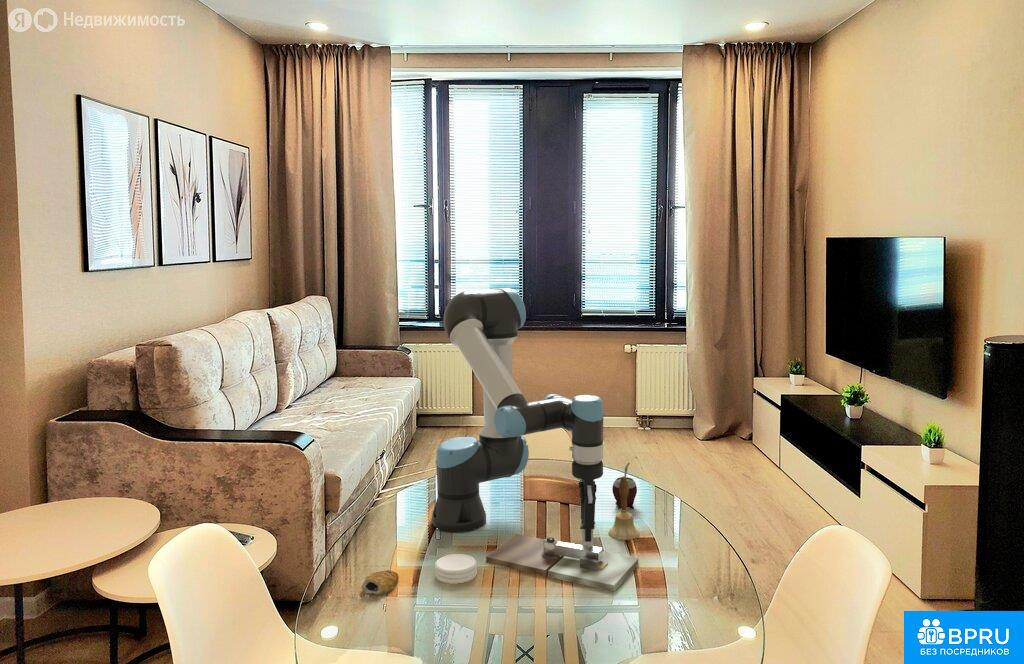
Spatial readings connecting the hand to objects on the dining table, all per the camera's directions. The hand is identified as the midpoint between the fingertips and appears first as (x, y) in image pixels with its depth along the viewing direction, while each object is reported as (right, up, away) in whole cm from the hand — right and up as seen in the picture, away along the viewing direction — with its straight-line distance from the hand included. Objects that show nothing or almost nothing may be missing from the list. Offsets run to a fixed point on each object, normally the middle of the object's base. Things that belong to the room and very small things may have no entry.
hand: (587, 551), depth 200 cm
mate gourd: (+15, +3, +38) cm, 40 cm away
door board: (-6, -3, +1) cm, 7 cm away
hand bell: (+11, 0, +18) cm, 21 cm away
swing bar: (-4, -1, -1) cm, 4 cm away
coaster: (-32, -5, -4) cm, 33 cm away
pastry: (-49, -6, -10) cm, 51 cm away
